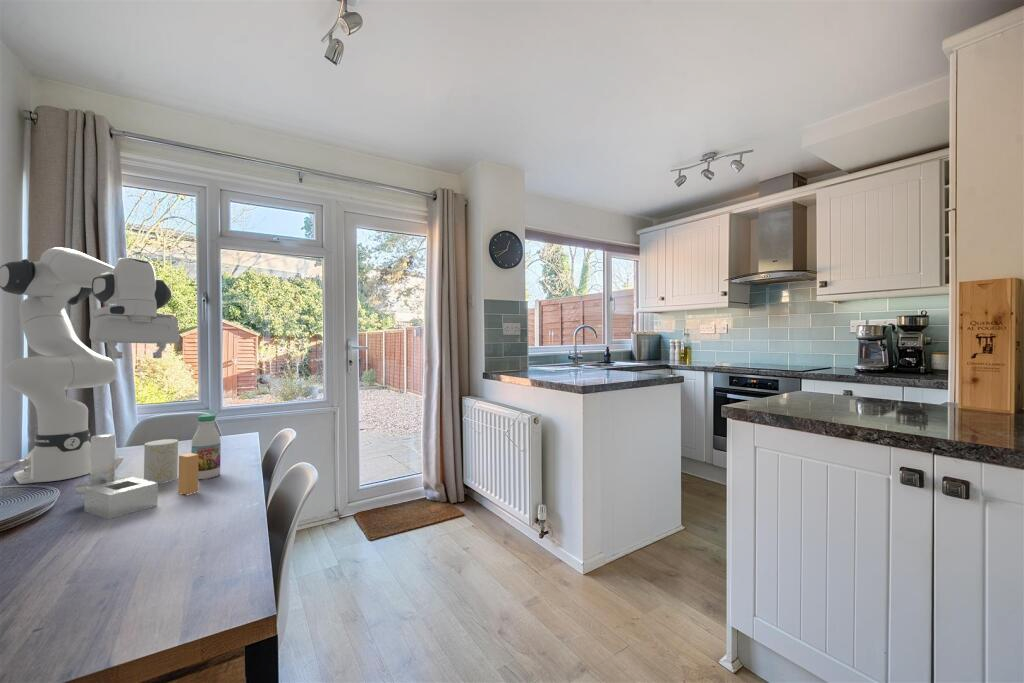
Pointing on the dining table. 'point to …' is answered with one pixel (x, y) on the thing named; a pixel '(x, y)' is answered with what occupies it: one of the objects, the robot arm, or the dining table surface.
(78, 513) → the dining table surface
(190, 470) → the tan wooden block
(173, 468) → the cup
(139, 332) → the robot arm
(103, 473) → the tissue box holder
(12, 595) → the dining table surface
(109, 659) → the dining table surface
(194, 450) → the milk bottle
